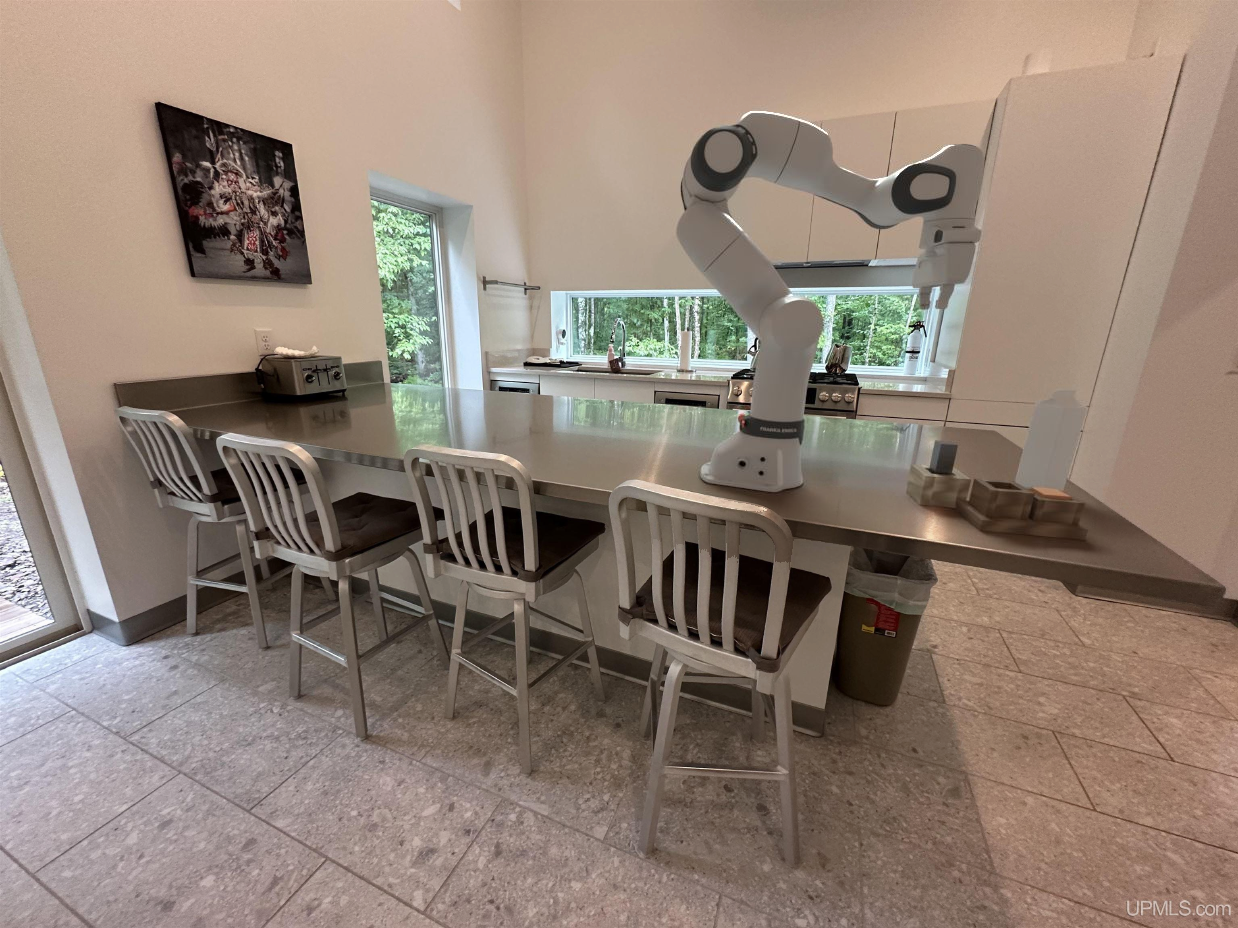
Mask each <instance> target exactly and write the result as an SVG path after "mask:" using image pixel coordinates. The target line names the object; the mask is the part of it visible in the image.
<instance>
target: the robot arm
mask: <svg viewBox="0 0 1238 928" xmlns="http://www.w3.org/2000/svg"><path fill="white" fill-rule="evenodd" d="M833 156H834V148H833V143H832V139H831V137H830V136H829V134H828V132H826V131H824V129H821V127H819V126H817V125H814V124H812V123H811V122H809V121H805V120H802V119H799V118H796V117H793V116H790V115H789V116H788V115H785V114H781V113H776V112H775V113H774V112H769V111H758V110H752V111H749V112H746V113H745V114H744V115H743V116H742V117H741V118H740V119H739V120H738V121H737V123H736V124H732V125H720V126H715V127H713V128H710V129H709V130H707V131H706V132H704V133H703V135H701V136H700V137H699V138H698V140H697V141H696V143H695V144H694V145H693V148H692V150H691V153H690V156H689V157H688V159H687V161H686V162H685V166H684V168H683V173H682V178H681V181H680V196H681V201H682V204H683V210H684V212H683V213H682V215H681V216H680V217H679V220H678V222H677V225H676V230H675V231H676V232H675V233H676V238H677V240H678V242H679V243H680V245H681V247H682V249H683V250H684V252H685V253H686V255H687V256H688V258H689V259H690V261H691V262H692V263H693V264H694V266H695V268H696V269H697V270H699V272H700V273H701V274H702V275H703V277H705V278H706V279H707V281H708V282H709V283H710V284H711V285H712V286H713V288H715V290H716V291H717V292H718V293H719V294H720V295H721V296H722V297H723V298H724V300H725V301H726V302H727V303H728V304H729V305H730V307H731V309H733V311H734V312H735V313H736V314H737V316H738V317H739V318H740V320H742V321H743V323H744V324H745V325H746V326H747V327H748V329H749V330H750V331H751V332H752V333H753V334H754V335H755V337H756V338H757V340H759V342H760V345H759V351H758V359H757V364H756V369H755V373H754V377H753V379H752V380H753V383H752V394H751V403H750V413H749V414H747V415H746V413H739V415H738V416H737V422H738V423H739V428H738V429H739V431H737V432H736V433H734V434H732V435H731V436H729V437H728V438H726V439H724V440H723V441H721V442H720V443H719V444H717V445H716V447H715V449H714V450H713V452H712V456H711V458H710V461H709V462H706V463H704V464H703V465H702V466H701V468H700V473H699V476H700V478H701V479H702V480H703V481H704V482H706V483H708V484H715V485H721V486H728V487H735V488H741V489H742V488H743V489H748V490H749V489H750V490H756V491H761V492H768V493H769V492H771V493H778V492H781V491H783V490H786V489H794V488H797V487H800V486H802V484H803V483H804V480H803V473H802V462H801V447H802V444H803V441H804V438H805V437H804V435H805V428H806V424H805V423H806V422H805V421H806V420H805V418H804V413H805V408H806V407H805V406H806V399H807V398H806V397H807V391H808V385H809V380H810V376H811V375H810V374H811V371H812V369H813V364H814V360H815V356H816V353H817V350H818V345H819V342H820V341H819V340H820V338H821V335H822V333H823V330H824V315H823V314H822V311H821V310H820V307H819V306H818V304H816V303H815V302H814V301H813V300H812V299H810V298H808V297H806V296H803V295H797V294H796V295H795V294H794V293H793V292H792V291H791V289H790V288H789V287H788V286H787V284H786V283H785V281H784V280H783V278H782V277H781V276H780V274H779V273H778V271H777V270H776V268H775V266H774V265H773V262H772V261H771V260H770V259H769V258H768V256H767V255H766V254H765V253H764V252H763V251H762V250H761V249H760V247H759V246H758V245H757V244H756V243H755V242H754V240H753V239H752V238H751V237H750V236H749V235H748V234H747V233H746V231H744V229H743V228H742V227H741V226H740V225H739V224H738V223H737V222H736V221H735V220H734V217H733V215H731V212H730V209H729V205H728V201H729V200H730V199H731V198H732V197H733V196H734V195H735V194H736V192H737V190H738V188H739V186H740V185H741V182H742V180H743V179H747V178H759V179H763V181H764V180H765V181H767V182H770V183H773V184H775V185H778V186H782V187H785V188H789V189H793V190H796V191H802V192H804V193H808V194H812V195H814V196H816V197H817V198H820V199H823V200H826V201H829V202H831V203H833V204H835V205H838V206H841V207H843V208H846V209H848V210H850V211H852V212H853V213H855V214H856V215H858V216H859V218H861V219H862V221H863V223H865V224H866V225H868V226H869V227H871V228H872V229H876V230H887V229H891V228H894V227H895V226H897V225H898V224H901V223H904V222H906V221H909V220H911V219H914V218H917V217H918V218H919V217H921V218H922V219H923V221H922V222H923V223H922V228H921V233H920V239H919V245H918V248H919V249H920V250H923V251H922V252H920V253H919V254H918V257H917V259H916V264H915V267H914V272H913V276H912V282H911V284H912V285H911V286H912V288H913V289H919V290H918V298H919V302H918V306H917V307H918V309H919V310H923V311H924V310H926V311H927V310H929V309H930V307H931V302H932V301H931V300H930V299H931V293H932V291H933V288H938V287H939V294H938V298H937V299H936V300H935V305H934V308H935V309H936V310H947V308H948V306H949V300H950V299H951V297H952V296H953V293H954V291H955V286H956V285H961V284H965V283H966V281H967V280H968V278H969V276H970V273H971V269H972V266H973V262H974V258H975V254H976V249H977V248H976V246H977V245H976V243H979V242H980V240H981V237H982V229H980V228H978V227H976V226H975V220H976V213H975V208H976V204H977V202H978V200H979V199H980V195H981V190H982V185H983V178H984V171H985V156H984V152H983V151H982V149H981V148H980V147H978V146H976V145H973V144H968V143H960V144H958V143H957V144H950V145H947V146H944V147H943V148H941V150H940V151H938V152H937V153H935V154H932V156H929V157H927V158H925V159H923V160H921V161H918V162H915V163H911V164H909V165H906V166H904V167H902V168H901V169H899V170H897V171H895V172H894V173H892V174H890V175H888V176H886V177H882V178H875V179H874V178H868V177H865V176H863V175H861V174H858V173H855V172H853V171H851V170H848V169H846V168H844V167H842V166H840V165H838V164H837V163H836V161H835V160H834V158H833Z"/></svg>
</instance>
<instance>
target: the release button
mask: <svg viewBox="0 0 1238 928" xmlns="http://www.w3.org/2000/svg"><path fill="white" fill-rule="evenodd" d="M1030 491H1032V492H1033V493H1035V494H1036V495H1038V496H1040V497H1041V498H1048V499H1061V500H1070V499H1071V496H1072V495H1071V496H1069V495H1070V494H1069V495H1067V494H1068V493H1067V494H1065V493H1066V492H1065V493H1063V492H1064V491H1063V492H1061V491H1060V490H1058V489H1050V488H1037V487H1031V490H1030Z"/></svg>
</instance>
